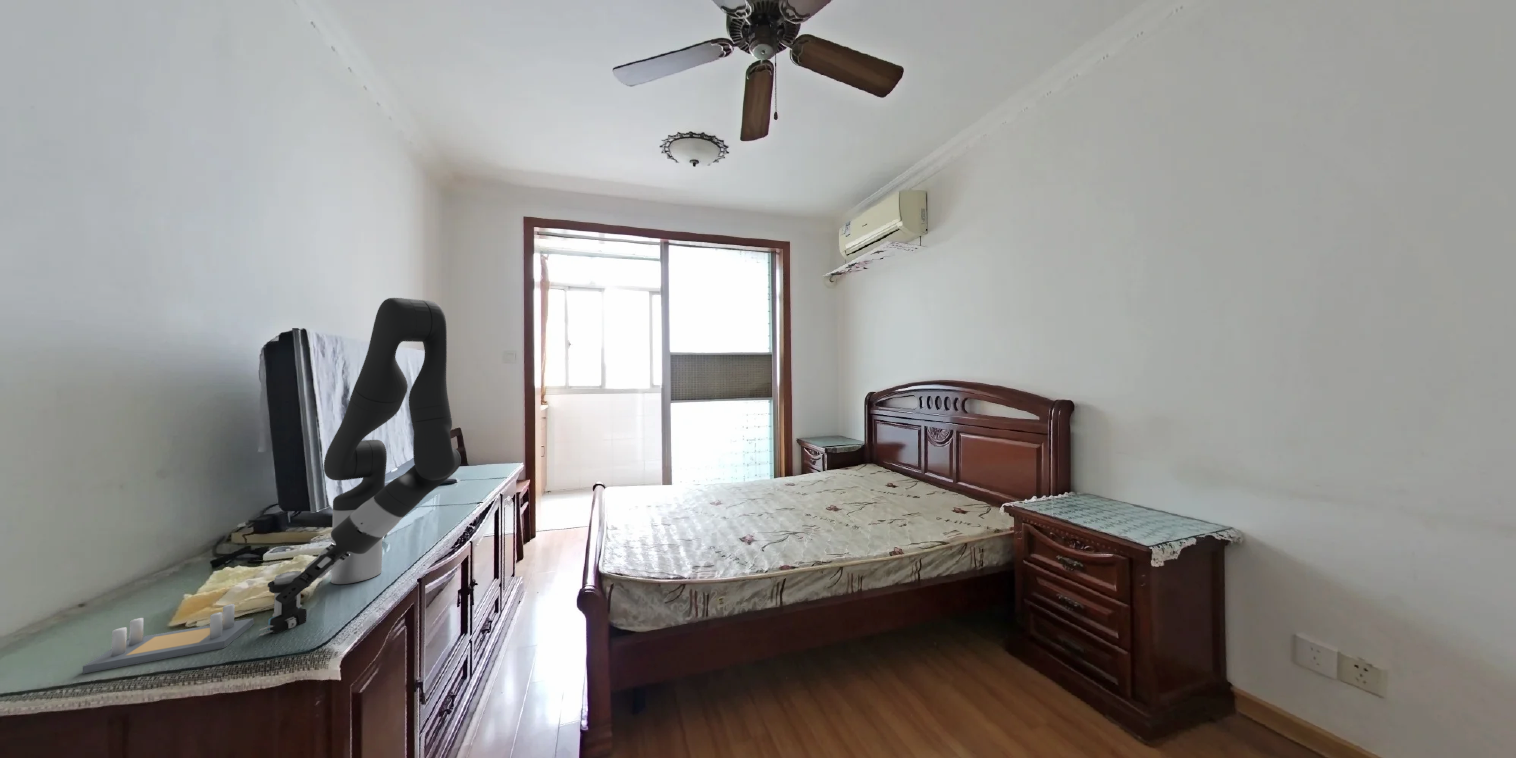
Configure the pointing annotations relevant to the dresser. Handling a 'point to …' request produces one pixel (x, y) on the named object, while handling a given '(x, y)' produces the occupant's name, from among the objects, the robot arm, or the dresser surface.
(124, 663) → the pin tray
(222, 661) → the dresser surface
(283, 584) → the push button
